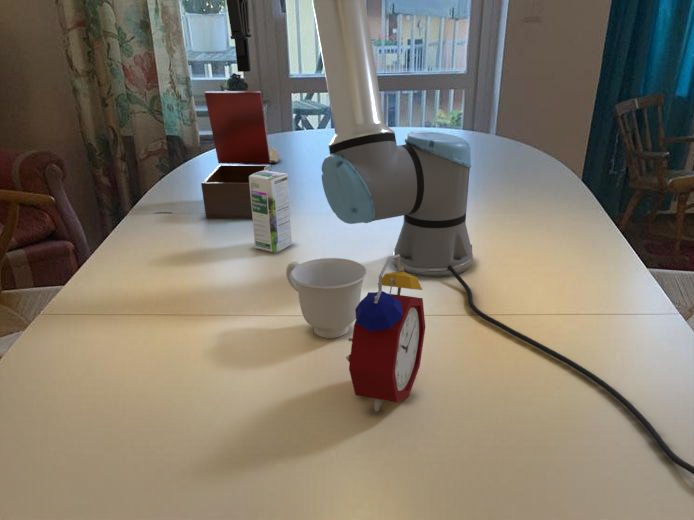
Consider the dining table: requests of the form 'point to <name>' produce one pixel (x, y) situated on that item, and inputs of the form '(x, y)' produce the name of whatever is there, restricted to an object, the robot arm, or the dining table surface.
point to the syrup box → (270, 210)
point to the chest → (229, 191)
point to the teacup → (328, 293)
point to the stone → (273, 155)
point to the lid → (238, 126)
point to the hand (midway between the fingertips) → (244, 70)
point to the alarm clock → (387, 339)
